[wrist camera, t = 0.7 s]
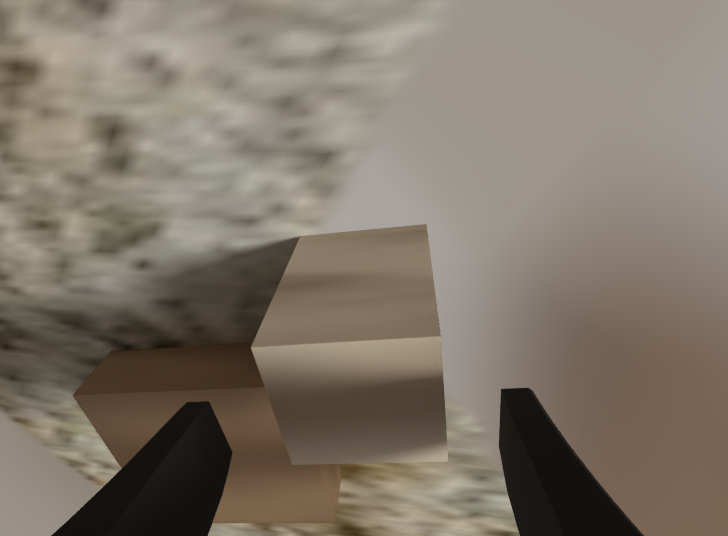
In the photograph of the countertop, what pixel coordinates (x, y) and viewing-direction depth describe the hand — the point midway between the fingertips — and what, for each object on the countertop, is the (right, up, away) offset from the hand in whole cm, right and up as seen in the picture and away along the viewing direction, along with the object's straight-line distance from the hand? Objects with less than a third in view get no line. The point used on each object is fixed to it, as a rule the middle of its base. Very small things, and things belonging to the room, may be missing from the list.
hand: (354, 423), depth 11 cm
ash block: (0, +3, +6) cm, 7 cm away
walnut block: (-6, -3, +10) cm, 12 cm away
